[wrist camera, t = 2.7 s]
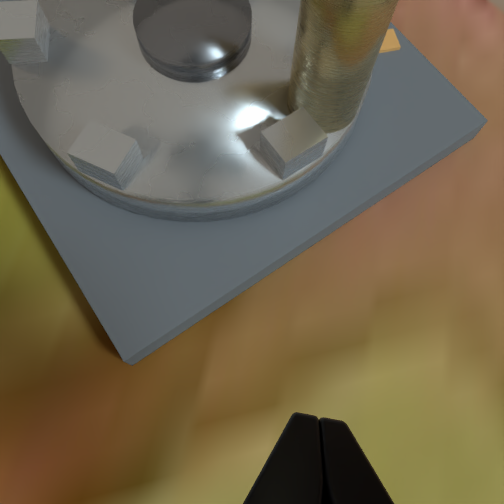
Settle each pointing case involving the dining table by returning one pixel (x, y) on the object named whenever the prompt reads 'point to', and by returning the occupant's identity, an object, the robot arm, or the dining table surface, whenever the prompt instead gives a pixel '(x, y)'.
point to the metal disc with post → (193, 95)
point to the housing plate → (237, 229)
